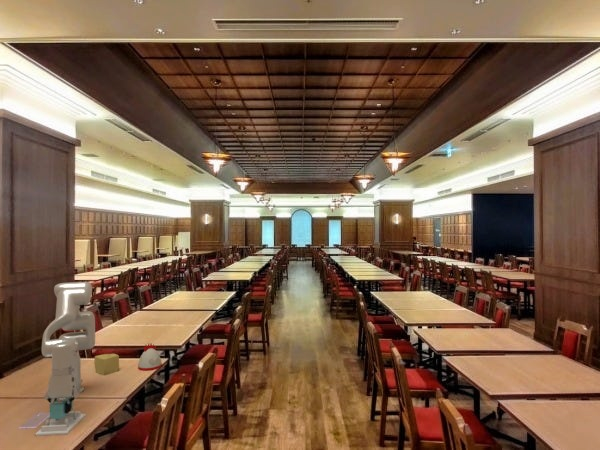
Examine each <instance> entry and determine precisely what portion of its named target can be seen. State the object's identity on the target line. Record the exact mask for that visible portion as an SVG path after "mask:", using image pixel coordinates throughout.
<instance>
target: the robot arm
mask: <svg viewBox="0 0 600 450" xmlns="http://www.w3.org/2000/svg"><path fill="white" fill-rule="evenodd" d="M53 292H54V295H55V297H56V307H55V319H54V320H53V321H51V322H50V323H49V324H48V326H47V327H46V329H45V330H44V332H43V334H42V340H41V354H42V356H43V357H45V358H51V374H50V376H49V381H48V387H47V392H46V393H45V394H44V395H43V399H45V400H47V402H49V405H50V404H52V403H53V402H54V401H56V400H57V399H58V398H66V401H67V404H66V413H69V412H72V410H73V409H72V401H74V400H75V399H76V398H78V397H79V396H80V394H81V393H83V392H84V389H85V388H84V386H82V385H81V384H82V382H83V379H82V378H81V377H82V376H81V372H82V371H81V369H82V368H81V360H82V359H81V356H80V354H78V351H83V350H90V349H93V348H94V347H95V344H96V317H95V314H94V313H93V311H91V310H90V311H80V306H84V305H85V306H86V305H88V304H89V303H90V301H91V299H92V293H93V285H92V284H91V282H89V281H78V282H77V281H74V282H73V281H72V282H71V281H70V282H61V283H58V284H56V285H54V287H53ZM59 329H62V330H63V331H65V332H67V333H63V334H61V335H60V336H59V337H58V338H56V339H51V336H52V335H53V334H54V333H55V332H56V331H57V330H59ZM82 330H83V331H82ZM72 331H74V332H72ZM72 395H73V397H72ZM71 409H72V410H71Z"/></svg>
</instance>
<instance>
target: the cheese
mask: <svg viewBox="0 0 600 450" xmlns="http://www.w3.org/2000/svg"><path fill="white" fill-rule="evenodd" d="M93 364H94V370H95V373H97V374H99V375H102V376H106V375H107V376H108V375H110V374H113V373H117V372H119V371H120V357H119V355H118V354H116V353H104V354H99V355H95V356H94V363H93Z"/></svg>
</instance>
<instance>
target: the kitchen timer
mask: <svg viewBox="0 0 600 450" xmlns="http://www.w3.org/2000/svg"><path fill="white" fill-rule="evenodd" d="M142 348H143V350H144V351H143V352H142V354H141V355H140V357H139V360H138V364H137V367H138V368H137V369H138V370H139V371H143V372H144V371H145V372H150V371H155V370H158V369H160V368H162V359H161V356H160V354H159V352H158V351H157V350H156V349H157V345H155V344H152V343H147V344H145V345H144V346H143V347H142Z"/></svg>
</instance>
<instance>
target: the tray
mask: <svg viewBox="0 0 600 450" xmlns="http://www.w3.org/2000/svg"><path fill="white" fill-rule="evenodd" d="M81 412H82V411H81V410H79V411H78V410H77V409H76V410H74V411H70V412H69V413H68V414H66V415H65V416H64V417H63V418H62V419H50V418H47V419H46V420H45V425H41V426H40V429H39V430H38V431H37V432H36V433H34V436H35V437H43V436H59V435H60V436H61V435H63V436H64V435H68V434H69V433H70V432H71V431H72V430H73V429H74V428H75V427H76V426H77V425H78V424H79V423H80V422H81V421H82V420H83V419H84V418H85V417H86V415H87V413H81Z"/></svg>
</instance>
